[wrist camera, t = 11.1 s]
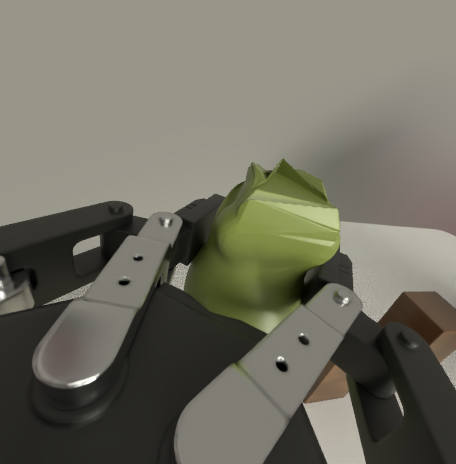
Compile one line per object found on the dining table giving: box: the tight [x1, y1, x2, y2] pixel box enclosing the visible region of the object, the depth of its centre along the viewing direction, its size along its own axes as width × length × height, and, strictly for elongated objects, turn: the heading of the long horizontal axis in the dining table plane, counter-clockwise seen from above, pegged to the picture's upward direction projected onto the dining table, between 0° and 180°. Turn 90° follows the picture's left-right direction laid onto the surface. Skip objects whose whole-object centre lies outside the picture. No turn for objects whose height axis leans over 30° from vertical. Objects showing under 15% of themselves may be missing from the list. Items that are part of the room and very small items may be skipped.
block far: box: [378, 292, 456, 363], centre depth 26 cm, size 4×4×10 cm
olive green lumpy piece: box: [184, 159, 340, 334], centre depth 11 cm, size 6×5×10 cm
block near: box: [303, 360, 349, 403], centre depth 24 cm, size 4×4×7 cm
